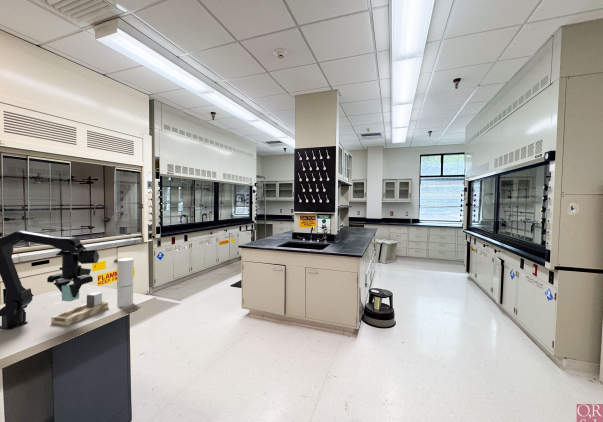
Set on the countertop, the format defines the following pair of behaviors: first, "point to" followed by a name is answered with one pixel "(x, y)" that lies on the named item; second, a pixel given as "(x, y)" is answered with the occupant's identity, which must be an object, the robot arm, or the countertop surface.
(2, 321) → the robot arm
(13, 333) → the countertop surface
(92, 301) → the grey rectangular block
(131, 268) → the cylindrical container
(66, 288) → the teal block
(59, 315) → the wooden tray
